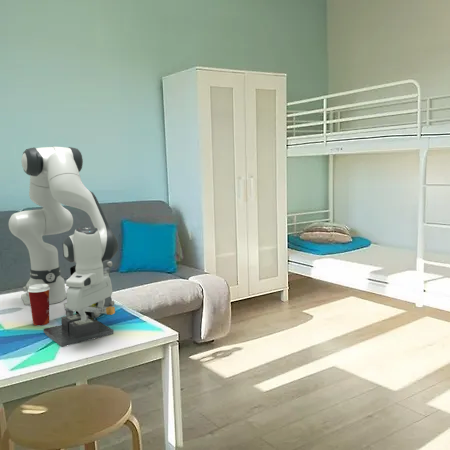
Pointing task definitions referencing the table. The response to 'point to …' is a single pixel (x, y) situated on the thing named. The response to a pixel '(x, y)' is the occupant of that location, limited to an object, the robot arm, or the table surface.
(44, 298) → the paper cup
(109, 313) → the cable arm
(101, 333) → the tray
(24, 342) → the table surface
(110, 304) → the electrical component
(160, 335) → the table surface
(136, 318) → the table surface
